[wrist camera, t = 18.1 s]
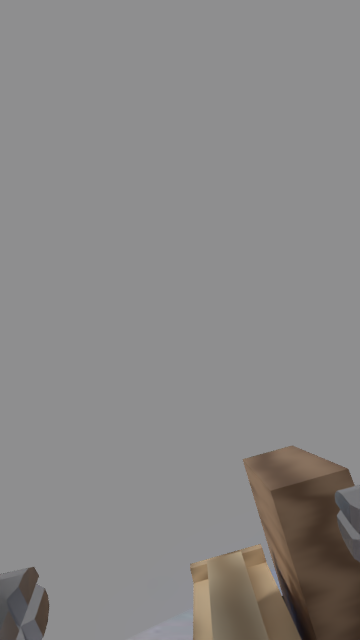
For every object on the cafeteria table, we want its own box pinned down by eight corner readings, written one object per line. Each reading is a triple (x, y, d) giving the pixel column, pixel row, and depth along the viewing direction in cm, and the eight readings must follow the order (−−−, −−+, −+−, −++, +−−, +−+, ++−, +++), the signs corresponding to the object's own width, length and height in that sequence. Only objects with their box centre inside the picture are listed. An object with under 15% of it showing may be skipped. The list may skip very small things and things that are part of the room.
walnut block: (403, 935, 19) (266, 493, 26) (306, 689, 35) (239, 459, 42) (525, 895, 19) (354, 468, 26) (372, 669, 35) (294, 444, 42)
